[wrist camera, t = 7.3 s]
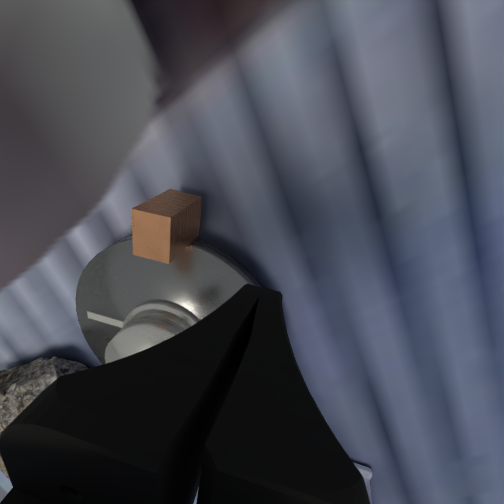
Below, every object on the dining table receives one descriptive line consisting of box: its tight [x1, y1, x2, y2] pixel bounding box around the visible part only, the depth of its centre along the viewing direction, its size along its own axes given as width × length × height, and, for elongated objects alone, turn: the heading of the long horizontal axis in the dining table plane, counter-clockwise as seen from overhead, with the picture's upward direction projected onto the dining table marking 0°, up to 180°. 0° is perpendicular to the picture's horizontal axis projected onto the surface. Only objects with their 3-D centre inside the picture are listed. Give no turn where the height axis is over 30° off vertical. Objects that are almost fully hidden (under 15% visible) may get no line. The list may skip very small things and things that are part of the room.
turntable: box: [76, 189, 261, 364], centre depth 20 cm, size 15×18×4 cm
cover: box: [105, 300, 200, 364], centre depth 20 cm, size 6×6×3 cm
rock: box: [0, 357, 89, 479], centre depth 29 cm, size 13×6×15 cm
